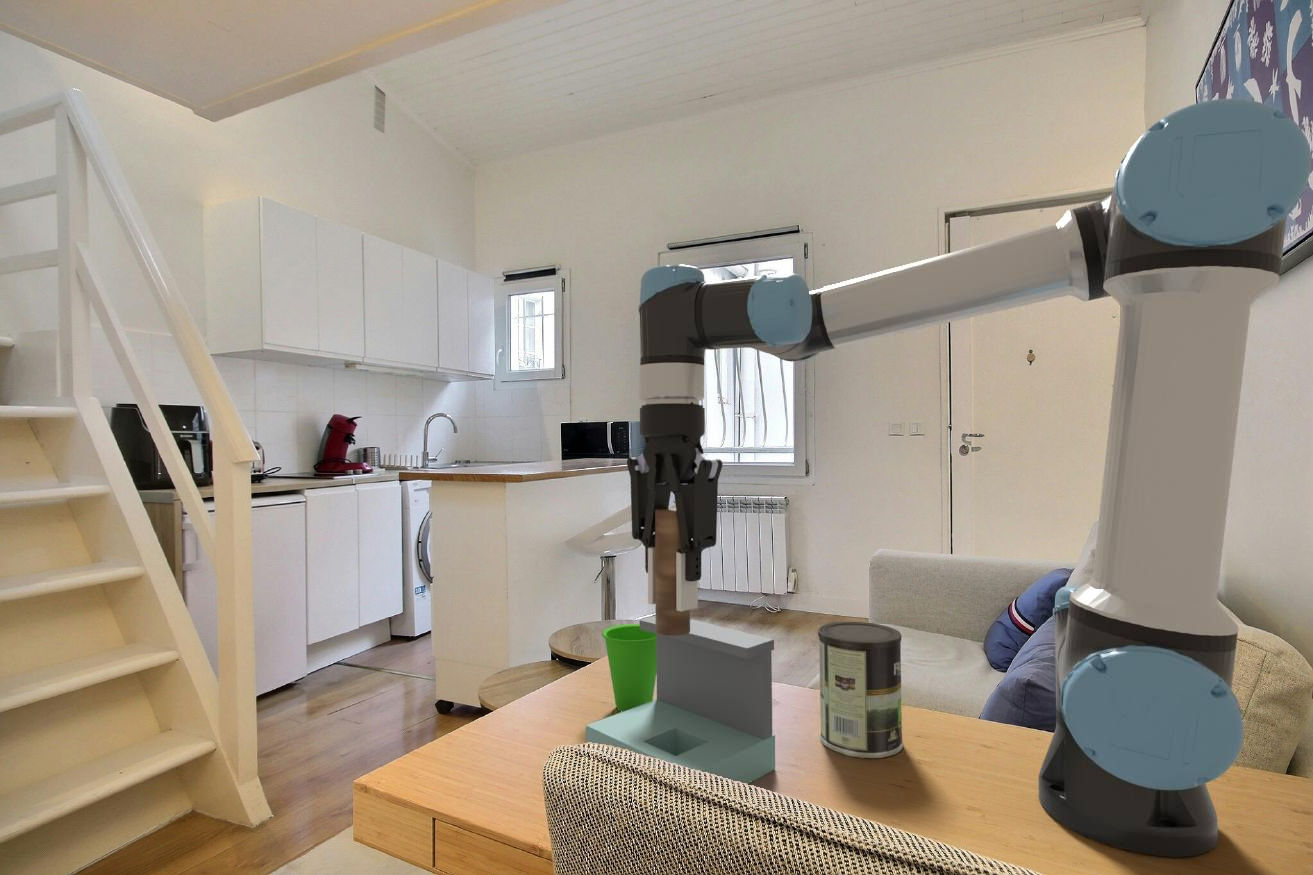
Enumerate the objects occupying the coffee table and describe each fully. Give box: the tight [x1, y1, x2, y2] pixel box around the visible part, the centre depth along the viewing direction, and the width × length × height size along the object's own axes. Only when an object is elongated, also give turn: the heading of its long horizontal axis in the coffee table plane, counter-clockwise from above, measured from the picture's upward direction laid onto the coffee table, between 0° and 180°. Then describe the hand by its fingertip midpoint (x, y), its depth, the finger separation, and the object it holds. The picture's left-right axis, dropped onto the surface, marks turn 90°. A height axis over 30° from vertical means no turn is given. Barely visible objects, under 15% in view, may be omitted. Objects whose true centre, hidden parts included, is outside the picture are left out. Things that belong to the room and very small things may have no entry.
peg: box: [654, 507, 691, 636], centre depth 81 cm, size 4×4×14 cm
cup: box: [601, 623, 657, 712], centre depth 101 cm, size 9×9×11 cm
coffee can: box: [817, 621, 904, 759], centre depth 89 cm, size 10×10×14 cm
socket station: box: [585, 615, 776, 785], centre depth 83 cm, size 18×14×15 cm
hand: (672, 604), depth 81 cm, fingers closed on peg, 4 cm apart
